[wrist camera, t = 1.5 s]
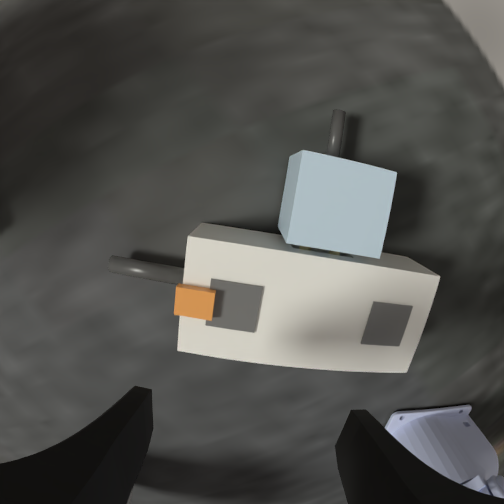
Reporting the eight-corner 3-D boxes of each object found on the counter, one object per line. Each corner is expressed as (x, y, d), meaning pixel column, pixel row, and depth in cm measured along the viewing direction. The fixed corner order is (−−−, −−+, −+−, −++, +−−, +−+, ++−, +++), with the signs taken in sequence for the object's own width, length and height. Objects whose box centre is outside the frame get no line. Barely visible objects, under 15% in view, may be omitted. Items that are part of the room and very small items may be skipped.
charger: (341, 277, 19) (366, 307, 14) (270, 266, 19) (276, 295, 14) (370, 123, 17) (405, 110, 12) (297, 105, 16) (312, 83, 12)
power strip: (382, 339, 20) (409, 377, 16) (117, 302, 19) (86, 334, 15) (407, 256, 19) (445, 279, 14) (122, 211, 18) (85, 222, 14)
